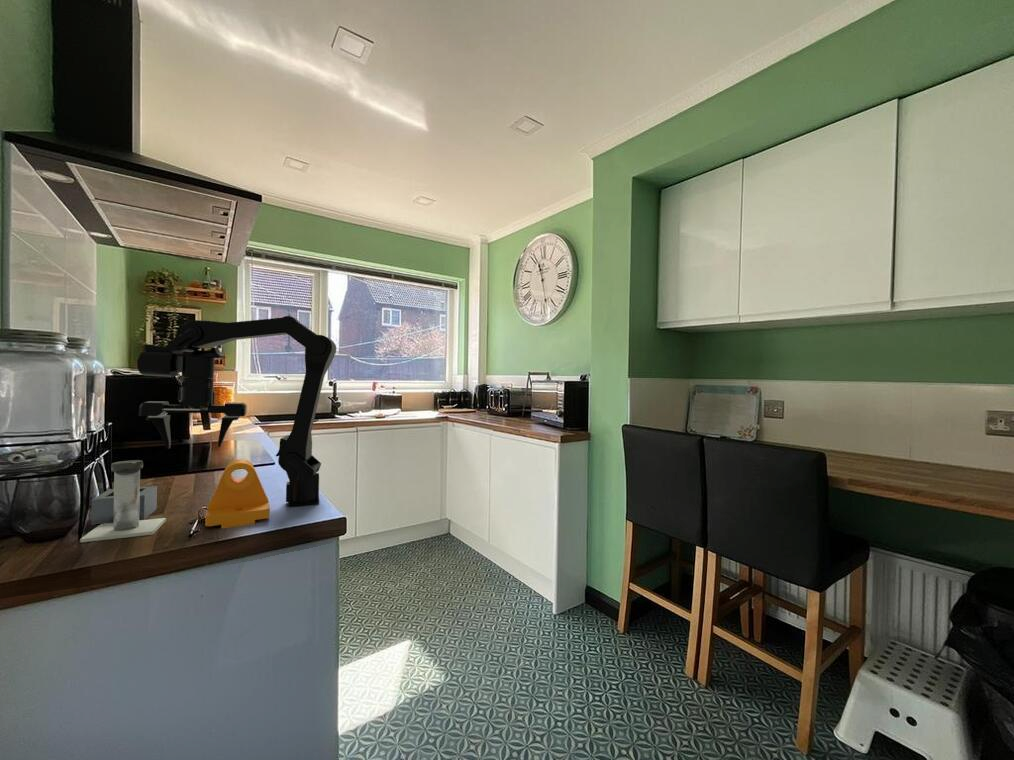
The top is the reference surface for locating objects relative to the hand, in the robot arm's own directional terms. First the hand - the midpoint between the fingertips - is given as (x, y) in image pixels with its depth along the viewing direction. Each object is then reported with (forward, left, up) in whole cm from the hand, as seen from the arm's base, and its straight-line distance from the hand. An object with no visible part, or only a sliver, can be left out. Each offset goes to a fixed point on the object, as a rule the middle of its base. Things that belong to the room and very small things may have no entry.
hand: (194, 447), depth 93 cm
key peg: (+8, +13, -13) cm, 19 cm away
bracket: (-10, +14, -14) cm, 22 cm away
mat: (+8, +13, -13) cm, 20 cm away
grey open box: (+11, +3, -13) cm, 17 cm away
